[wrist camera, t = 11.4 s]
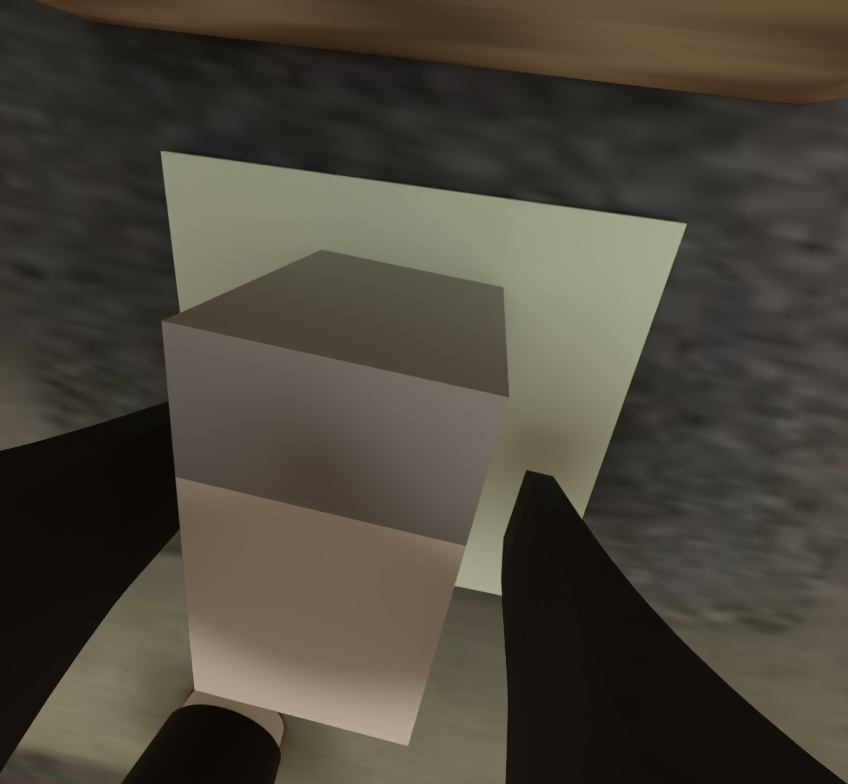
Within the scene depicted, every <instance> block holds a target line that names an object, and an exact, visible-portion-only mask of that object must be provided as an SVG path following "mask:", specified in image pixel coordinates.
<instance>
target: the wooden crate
mask: <svg viewBox="0 0 848 784" xmlns="http://www.w3.org/2000/svg"><path fill="white" fill-rule="evenodd" d="M35 1H38V2H41V3H43V4H46V5H49V6H51V7H54V8H57V9H60V10H62V11H65V12H68V13H70V14H73V15H76V16H79V17H81V18H84V19H87V20H89V21H92V22H98V23H107V24H115V25H124V26H132V27H141V28H149V29H158V30H166V31H175V32H183V33H192V34H200V35H209V36H217V37H226V38H234V39H243V40H251V41H260V42H268V43H277V44H285V45H294V46H302V47H311V48H319V49H328V50H336V51H345V52H353V53H362V54H370V55H379V56H387V57H396V58H404V59H413V60H421V61H430V62H438V63H447V64H455V65H464V66H472V67H481V68H489V69H498V70H506V71H515V72H523V73H532V74H540V75H549V76H557V77H566V78H574V79H583V80H591V81H600V82H609V83H617V84H626V85H634V86H643V87H651V88H660V89H668V90H677V91H685V92H694V93H702V94H711V95H719V96H728V97H736V98H745V99H753V100H762V101H770V102H779V103H787V104H796V105H804V106H806V105H811V104H816V103H820V102H825V101H830V100H834V99H839V98H844V97H848V0H35Z"/></svg>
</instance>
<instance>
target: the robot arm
mask: <svg viewBox="0 0 848 784" xmlns="http://www.w3.org/2000/svg"><path fill="white" fill-rule="evenodd" d="M179 529H180V522H179V510H178V499H177V488H176V477H175V466H174V455H173V444H172V432H171V421H170V410H169V402H165V403H162V404H159V405H156V406H153V407H150V408H147V409H143V410H140V411H137V412H134V413H131V414H128V415H125V416H122V417H119V418H115V419H112V420H109V421H106V422H103V423H100V424H97V425H93V426H90V427H86V428H83V429H80V430H76V431H73V432H69V433H66V434H62V435H59V436H55V437H52V438H48V439H45V440H42V441H38V442H34V443H30V444H26V445H22V446H18V447H14V448H10V449H6V450H2V451H0V772H1V771H2V769H3V768H4V766H5V764H6V763H7V761H8V759H9V758H10V756H11V755H12V753H13V752H14V750H15V749H16V747H17V745H18V744H19V742H20V741H21V739H22V738H23V736H24V735H25V733H26V732H27V730H28V728H29V727H30V725H31V724H32V722H33V721H34V719H35V718H36V716H37V714H38V713H39V711H40V710H41V708H42V707H43V705H44V704H45V702H46V701H47V699H48V698H49V696H50V695H51V693H52V692H53V690H54V689H55V687H56V686H57V684H58V683H59V682H60V680H61V679H62V677H63V676H64V674H65V673H66V671H67V670H68V668H69V667H70V665H71V664H72V663H73V661H74V660H75V658H76V657H77V655H78V654H79V652H80V651H81V649H82V648H83V647H84V645H85V644H86V643H87V641H88V640H89V638H90V637H91V636H92V634H93V633H94V632H95V630H96V629H97V627H98V626H99V625H100V623H101V622H102V621H103V619H104V618H105V616H106V615H107V614H108V612H109V611H110V610H111V608H112V607H113V605H114V604H115V603H116V602H117V601H118V599H119V598H120V597H121V596H122V594H123V593H124V592H125V591H126V589H127V588H128V587H129V586H130V585H131V584H132V582H133V581H134V580H135V579H136V578H137V577H138V576H139V574H140V573H141V572H142V571H143V570H144V569H145V568H146V567H147V565H148V564H149V563H150V562H151V561H152V560H153V559H154V557H155V556H156V555H157V554H158V553H159V552H160V551H161V550H162V548H163V547H164V546H165V545H166V544H167V543H168V542H169V541H170V539H171V538H172V537H173V536H174V535H175V534H176V533H177V531H178V530H179ZM501 590H502V607H503V622H504V637H505V653H506V668H507V686H508V723H507V760H506V784H847V783H846V782H844V781H843V780H842V779H840V778H839V777H838V776H836V775H835V774H834V773H833V772H831V771H830V770H829V769H827V768H826V767H825V766H823V765H822V764H821V763H820V762H818V761H817V760H816V759H814V758H813V757H812V756H811V755H810V754H808V753H807V752H806V751H805V750H803V749H802V748H801V747H800V746H799V745H797V744H796V743H795V742H794V741H793V740H791V739H790V738H789V737H788V736H787V735H786V734H784V733H783V732H782V731H781V730H780V729H778V728H777V727H776V726H775V725H774V724H772V723H771V722H770V721H769V720H768V719H767V718H765V717H764V716H763V715H762V714H761V713H759V712H758V711H757V710H756V709H755V708H754V707H753V706H752V705H750V704H749V703H748V702H747V701H746V700H745V699H744V698H743V697H741V696H740V695H739V694H738V693H737V692H736V691H735V690H734V689H732V688H731V687H730V686H729V685H728V684H727V683H726V682H725V681H724V680H723V679H722V678H721V677H720V676H719V675H717V674H716V673H715V672H714V671H713V670H712V669H711V668H710V667H709V666H708V665H707V664H706V663H705V662H704V661H703V660H702V659H701V658H700V657H699V656H697V655H696V654H695V653H694V652H693V651H692V650H691V649H690V648H689V647H688V646H687V645H686V644H685V643H684V642H683V641H682V640H681V639H680V638H679V637H678V636H677V635H676V634H675V633H674V631H673V630H672V629H671V628H670V627H669V626H668V625H667V624H666V623H665V622H664V621H663V620H662V618H661V617H660V616H659V615H658V614H657V613H656V612H655V611H654V610H653V609H652V608H651V607H650V606H649V604H648V603H647V602H646V601H645V600H644V599H643V598H642V596H641V595H640V594H639V593H638V592H637V591H636V590H635V588H634V587H633V586H632V585H631V583H630V582H629V581H628V580H627V579H626V577H625V576H624V575H623V574H622V572H621V571H620V570H619V569H618V567H617V566H616V565H615V564H614V562H613V561H612V560H611V558H610V557H609V556H608V554H607V553H606V552H605V551H604V549H603V548H602V547H601V545H600V544H599V542H598V541H597V540H596V538H595V537H594V535H593V534H592V533H591V531H590V530H589V528H588V527H587V526H586V524H585V523H584V521H583V520H582V518H581V517H580V515H579V514H578V512H577V511H576V509H575V508H574V506H573V505H572V503H571V502H570V500H569V499H568V497H567V496H566V494H565V493H564V491H563V490H562V488H561V487H560V485H559V484H558V482H557V481H556V479H555V478H554V477H553V476H551V475H546V474H542V473H537V472H533V471H528V470H526V472H525V475H524V478H523V481H522V484H521V487H520V490H519V493H518V496H517V499H516V502H515V505H514V508H513V511H512V514H511V516H510V519H509V522H508V525H507V528H506V531H505V534H504V537H503V551H502V567H501Z"/></svg>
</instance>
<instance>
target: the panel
mask: <svg viewBox="0 0 848 784" xmlns="http://www.w3.org/2000/svg"><path fill="white" fill-rule="evenodd" d="M161 158H162V166H163V175H164V183H165V191H166V199H167V208H168V216H169V224H170V233H171V241H172V249H173V257H174V266H175V274H176V282H177V290H178V299H179V307H180V313H181V312H183V311H185V310H187V309H190V308H192V307H194V306H196V305H199V304H201V303H203V302H205V301H208V300H210V299H212V298H214V297H217V296H219V295H221V294H223V293H226V292H228V291H230V290H232V289H234V288H237V287H239V286H241V285H243V284H246V283H248V282H250V281H252V280H255V279H257V278H259V277H261V276H264V275H266V274H268V273H270V272H273V271H275V270H277V269H279V268H281V267H284V266H286V265H288V264H290V263H293V262H295V261H297V260H299V259H302V258H304V257H306V256H308V255H311V254H313V253H315V252H317V251H320V250H326V251H331V252H336V253H341V254H346V255H350V256H355V257H360V258H365V259H370V260H374V261H379V262H384V263H389V264H394V265H399V266H403V267H408V268H413V269H418V270H423V271H427V272H432V273H437V274H442V275H447V276H452V277H456V278H461V279H466V280H471V281H476V282H480V283H485V284H490V285H495V286H500V287H503V291H504V310H505V328H506V346H507V365H508V383H509V400H508V404H507V407H506V410H505V414H504V417H503V421H502V424H501V428H500V431H499V435H498V438H497V441H496V445H495V448H494V452H493V455H492V459H491V462H490V465H489V469H488V472H487V476H486V479H485V483H484V486H483V490H482V493H481V496H480V500H479V503H478V507H477V510H476V514H475V517H474V521H473V524H472V527H471V531H470V534H469V538H468V541H467V545H466V548H465V551H464V555H463V558H462V562H461V565H460V569H459V572H458V576H457V579H456V582H455V586H459V587H463V588H468V589H473V590H478V591H483V592H488V593H493V594H498V595H502V590H501V567H502V551H503V537H504V534H505V531H506V528H507V525H508V522H509V519H510V516H511V514H512V511H513V508H514V505H515V502H516V499H517V496H518V493H519V490H520V487H521V484H522V481H523V478H524V475H525V472H526V470H528V471H533V472H537V473H542V474H546V475H551V476H553V477H554V478H555V479H556V481H557V482H558V484H559V485H560V487H561V488H562V490H563V491H564V493H565V494H566V496H567V497H568V499H569V500H570V502H571V503H572V505H573V506H574V508H575V509H576V511H577V512H578V514H579V515H580V517H581V518H583V515H584V512H585V509H586V506H587V503H588V501H589V498H590V495H591V492H592V489H593V487H594V484H595V481H596V478H597V475H598V472H599V470H600V467H601V464H602V461H603V458H604V456H605V453H606V450H607V447H608V444H609V442H610V439H611V436H612V433H613V430H614V427H615V425H616V422H617V419H618V416H619V413H620V411H621V408H622V405H623V402H624V399H625V396H626V394H627V391H628V388H629V385H630V382H631V380H632V377H633V374H634V371H635V368H636V366H637V363H638V360H639V357H640V354H641V351H642V349H643V346H644V343H645V340H646V337H647V335H648V332H649V329H650V326H651V323H652V320H653V318H654V315H655V312H656V309H657V306H658V304H659V301H660V298H661V295H662V292H663V290H664V287H665V284H666V281H667V278H668V275H669V273H670V270H671V267H672V264H673V261H674V259H675V256H676V253H677V250H678V247H679V244H680V242H681V239H682V236H683V233H684V230H685V228H686V225H687V224H685V223H682V222H678V221H671V220H663V219H656V218H649V217H642V216H635V215H627V214H620V213H613V212H606V211H598V210H591V209H584V208H577V207H569V206H562V205H555V204H548V203H540V202H533V201H526V200H519V199H512V198H504V197H497V196H490V195H483V194H475V193H468V192H461V191H454V190H446V189H439V188H432V187H425V186H418V185H410V184H403V183H396V182H389V181H381V180H374V179H367V178H360V177H352V176H345V175H338V174H331V173H324V172H316V171H309V170H302V169H295V168H287V167H280V166H273V165H266V164H258V163H251V162H244V161H237V160H230V159H222V158H215V157H208V156H201V155H193V154H186V153H179V152H169V151H161Z"/></svg>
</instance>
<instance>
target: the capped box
mask: <svg viewBox="0 0 848 784" xmlns="http://www.w3.org/2000/svg"><path fill="white" fill-rule="evenodd" d="M162 332H163V343H164V354H165V365H166V377H167V388H168V399H169V410H170V421H171V432H172V444H173V455H174V466H175V477H176V488H177V499H178V510H179V522H180V533H181V544H182V555H183V566H184V577H185V588H186V600H187V611H188V622H189V633H190V644H191V655H192V667H193V678H194V689H195V690H197V691H200V692H204V693H208V694H212V695H216V696H220V697H223V698H227V699H231V700H235V701H239V702H242V703H246V704H250V705H254V706H258V707H262V708H265V709H269V710H273V711H277V712H281V713H284V714H288V715H292V716H296V717H300V718H304V719H307V720H311V721H315V722H319V723H323V724H326V725H330V726H334V727H338V728H342V729H345V730H349V731H353V732H357V733H361V734H365V735H368V736H372V737H376V738H380V739H384V740H387V741H391V742H395V743H399V744H403V745H407V746H408V744H409V741H410V737H411V734H412V730H413V727H414V723H415V720H416V716H417V713H418V710H419V706H420V703H421V699H422V696H423V692H424V689H425V686H426V682H427V679H428V675H429V672H430V668H431V665H432V661H433V658H434V655H435V651H436V648H437V644H438V641H439V637H440V634H441V631H442V627H443V624H444V620H445V617H446V613H447V610H448V606H449V603H450V600H451V596H452V593H453V589H454V586H455V582H456V579H457V576H458V572H459V569H460V565H461V562H462V558H463V555H464V551H465V548H466V545H467V541H468V538H469V534H470V531H471V527H472V524H473V521H474V517H475V514H476V510H477V507H478V503H479V500H480V496H481V493H482V490H483V486H484V483H485V479H486V476H487V472H488V469H489V465H490V462H491V459H492V455H493V452H494V448H495V445H496V441H497V438H498V435H499V431H500V428H501V424H502V421H503V417H504V414H505V410H506V407H507V404H508V400H509V383H508V365H507V346H506V328H505V310H504V291H503V287H500V286H495V285H490V284H485V283H480V282H476V281H471V280H466V279H461V278H456V277H452V276H447V275H442V274H437V273H432V272H427V271H423V270H418V269H413V268H408V267H403V266H399V265H394V264H389V263H384V262H379V261H374V260H370V259H365V258H360V257H355V256H350V255H346V254H341V253H336V252H331V251H326V250H320V251H317V252H315V253H313V254H311V255H308V256H306V257H304V258H302V259H299V260H297V261H295V262H293V263H290V264H288V265H286V266H284V267H281V268H279V269H277V270H275V271H273V272H270V273H268V274H266V275H264V276H261V277H259V278H257V279H255V280H252V281H250V282H248V283H246V284H243V285H241V286H239V287H237V288H234V289H232V290H230V291H228V292H226V293H223V294H221V295H219V296H217V297H214V298H212V299H210V300H208V301H205V302H203V303H201V304H199V305H196V306H194V307H192V308H190V309H187V310H185V311H183V312H181V313H179V314H176V315H174V316H172V317H170V318H167V319H165V320H163V321H162Z"/></svg>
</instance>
